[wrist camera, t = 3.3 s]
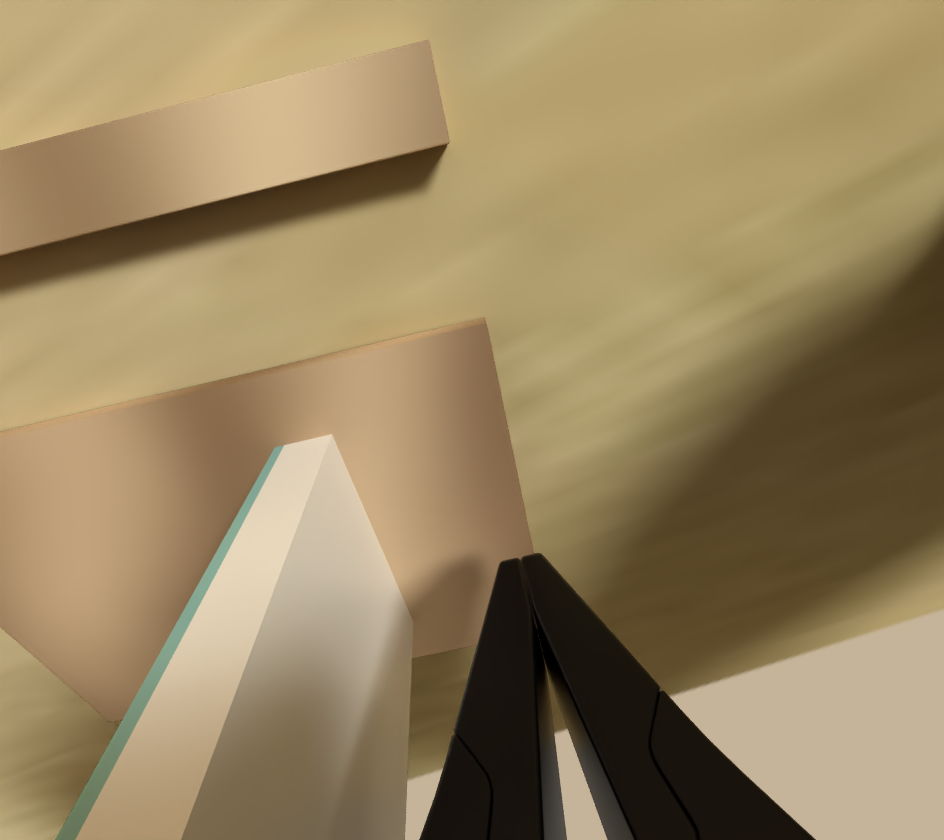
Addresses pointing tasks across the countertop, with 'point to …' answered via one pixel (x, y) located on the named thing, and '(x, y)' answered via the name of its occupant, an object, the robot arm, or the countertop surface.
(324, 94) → the wooden turner
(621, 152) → the countertop surface
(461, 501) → the brown wooden board
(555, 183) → the countertop surface
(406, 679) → the tile
